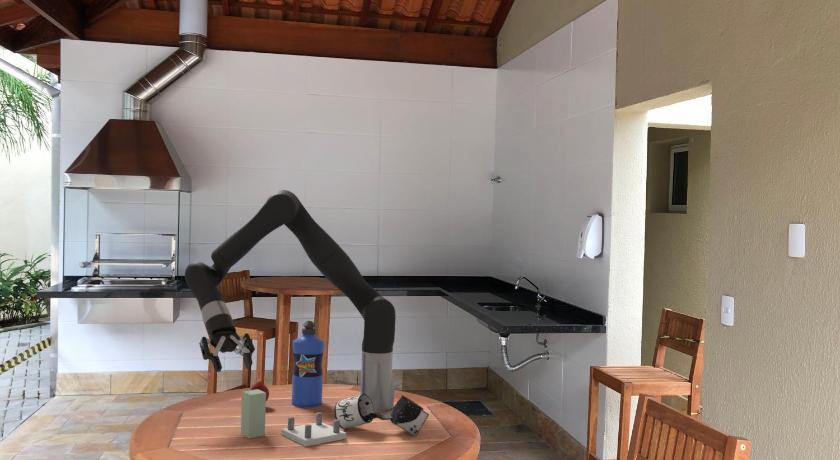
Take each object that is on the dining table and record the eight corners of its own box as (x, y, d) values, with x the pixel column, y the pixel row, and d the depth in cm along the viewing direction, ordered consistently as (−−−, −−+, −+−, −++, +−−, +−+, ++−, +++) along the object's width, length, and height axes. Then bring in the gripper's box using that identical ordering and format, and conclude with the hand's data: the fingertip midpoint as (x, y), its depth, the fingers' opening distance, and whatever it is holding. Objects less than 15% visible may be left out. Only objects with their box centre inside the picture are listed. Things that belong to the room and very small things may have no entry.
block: (256, 431, 192) (257, 389, 192) (264, 435, 188) (266, 392, 188) (240, 433, 189) (241, 391, 189) (248, 438, 185) (249, 394, 185)
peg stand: (320, 427, 197) (321, 410, 197) (345, 438, 188) (346, 421, 188) (281, 434, 189) (281, 417, 189) (305, 446, 180) (305, 428, 180)
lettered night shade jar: (330, 434, 191) (331, 396, 191) (338, 424, 201) (339, 388, 201) (427, 440, 189) (428, 401, 189) (430, 429, 199) (431, 392, 199)
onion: (263, 410, 213) (264, 382, 213) (245, 408, 214) (246, 381, 214) (271, 405, 218) (272, 378, 218) (253, 404, 219) (254, 377, 219)
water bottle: (319, 408, 217) (322, 323, 217) (288, 407, 217) (291, 322, 217) (324, 400, 226) (326, 319, 226) (294, 399, 227) (296, 318, 226)
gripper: (197, 313, 199) (214, 363, 191) (246, 311, 208) (263, 358, 200) (189, 330, 203) (205, 379, 195) (237, 327, 213) (254, 374, 204)
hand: (234, 368), depth 197 cm, fingers open, 8 cm apart
